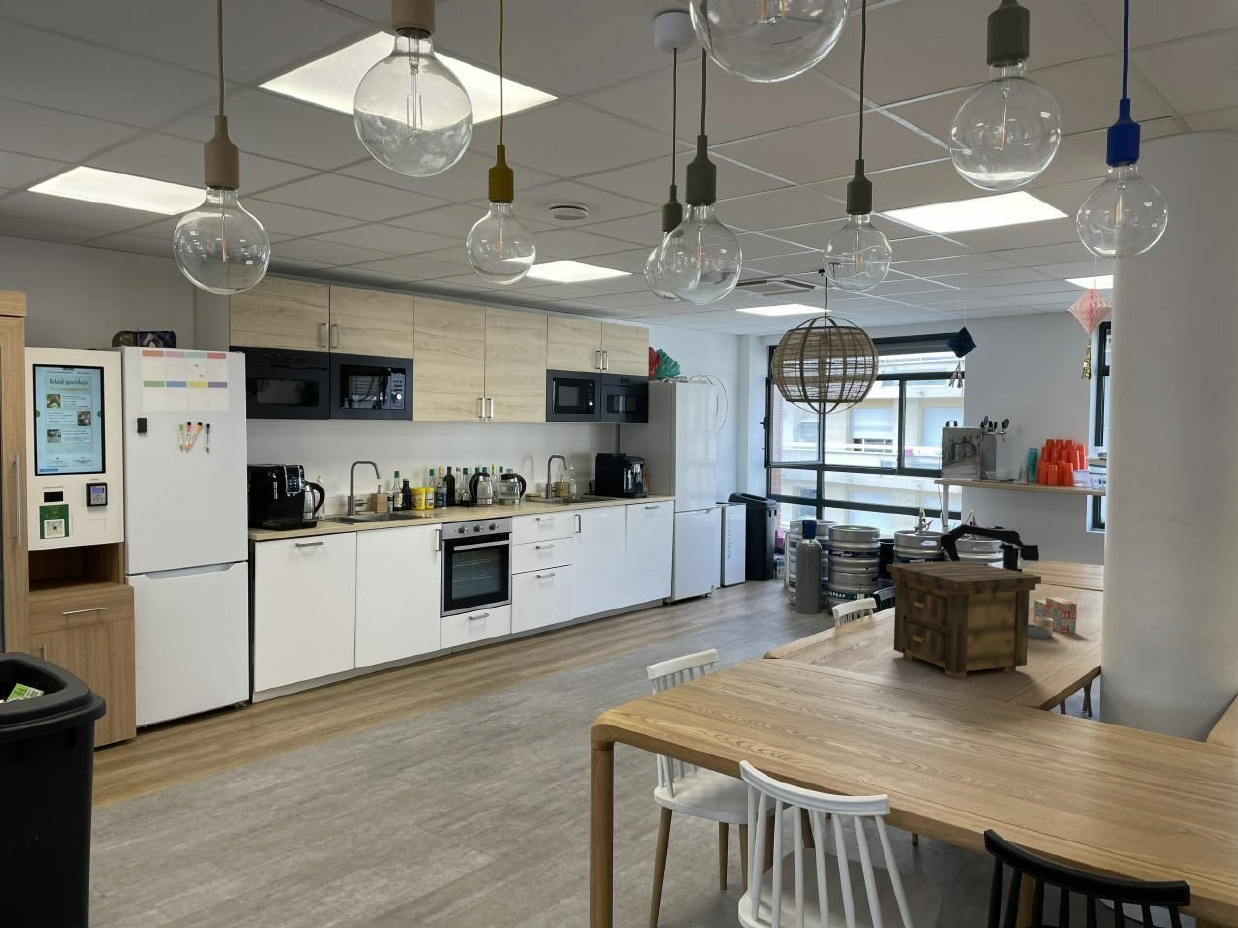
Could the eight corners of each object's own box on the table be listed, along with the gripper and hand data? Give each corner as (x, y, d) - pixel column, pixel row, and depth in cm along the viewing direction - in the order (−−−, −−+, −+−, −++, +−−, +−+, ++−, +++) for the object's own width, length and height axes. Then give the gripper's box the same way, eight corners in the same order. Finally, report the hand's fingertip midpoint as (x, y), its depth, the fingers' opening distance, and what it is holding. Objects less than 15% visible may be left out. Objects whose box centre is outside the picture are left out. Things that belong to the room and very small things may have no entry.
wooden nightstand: (1037, 673, 284) (1041, 576, 283) (954, 683, 272) (957, 581, 271) (961, 647, 317) (964, 560, 316) (883, 655, 305) (886, 564, 303)
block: (1035, 634, 335) (1036, 619, 335) (1034, 631, 341) (1035, 616, 340) (1052, 636, 333) (1053, 620, 333) (1051, 632, 338) (1052, 617, 338)
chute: (992, 633, 340) (992, 624, 340) (992, 628, 348) (992, 620, 348) (1048, 639, 332) (1048, 630, 332) (1046, 634, 340) (1047, 625, 340)
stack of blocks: (1033, 621, 364) (1034, 592, 364) (1047, 621, 365) (1048, 592, 364) (1060, 633, 343) (1062, 603, 342) (1076, 633, 343) (1077, 603, 343)
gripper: (986, 560, 350) (984, 598, 350) (1036, 564, 342) (1035, 602, 343) (986, 557, 360) (984, 593, 361) (1035, 560, 352) (1033, 597, 353)
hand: (1009, 597), depth 354 cm, fingers closed
